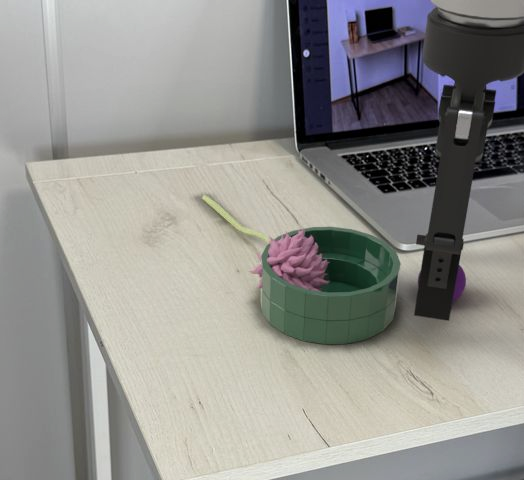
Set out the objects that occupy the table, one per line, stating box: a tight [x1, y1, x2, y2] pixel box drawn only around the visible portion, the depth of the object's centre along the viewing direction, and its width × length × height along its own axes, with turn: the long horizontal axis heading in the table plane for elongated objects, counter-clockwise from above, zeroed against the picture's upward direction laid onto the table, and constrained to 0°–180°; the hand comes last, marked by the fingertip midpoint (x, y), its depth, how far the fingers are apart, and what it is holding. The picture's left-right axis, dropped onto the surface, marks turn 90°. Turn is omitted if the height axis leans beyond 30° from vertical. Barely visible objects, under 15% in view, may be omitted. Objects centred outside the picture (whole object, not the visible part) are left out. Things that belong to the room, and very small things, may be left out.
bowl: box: [260, 226, 402, 345], centre depth 73 cm, size 11×11×5 cm
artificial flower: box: [201, 194, 330, 291], centre depth 80 cm, size 7×7×25 cm
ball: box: [417, 264, 467, 303], centre depth 75 cm, size 4×4×4 cm
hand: (439, 273), depth 74 cm, fingers open, 13 cm apart
